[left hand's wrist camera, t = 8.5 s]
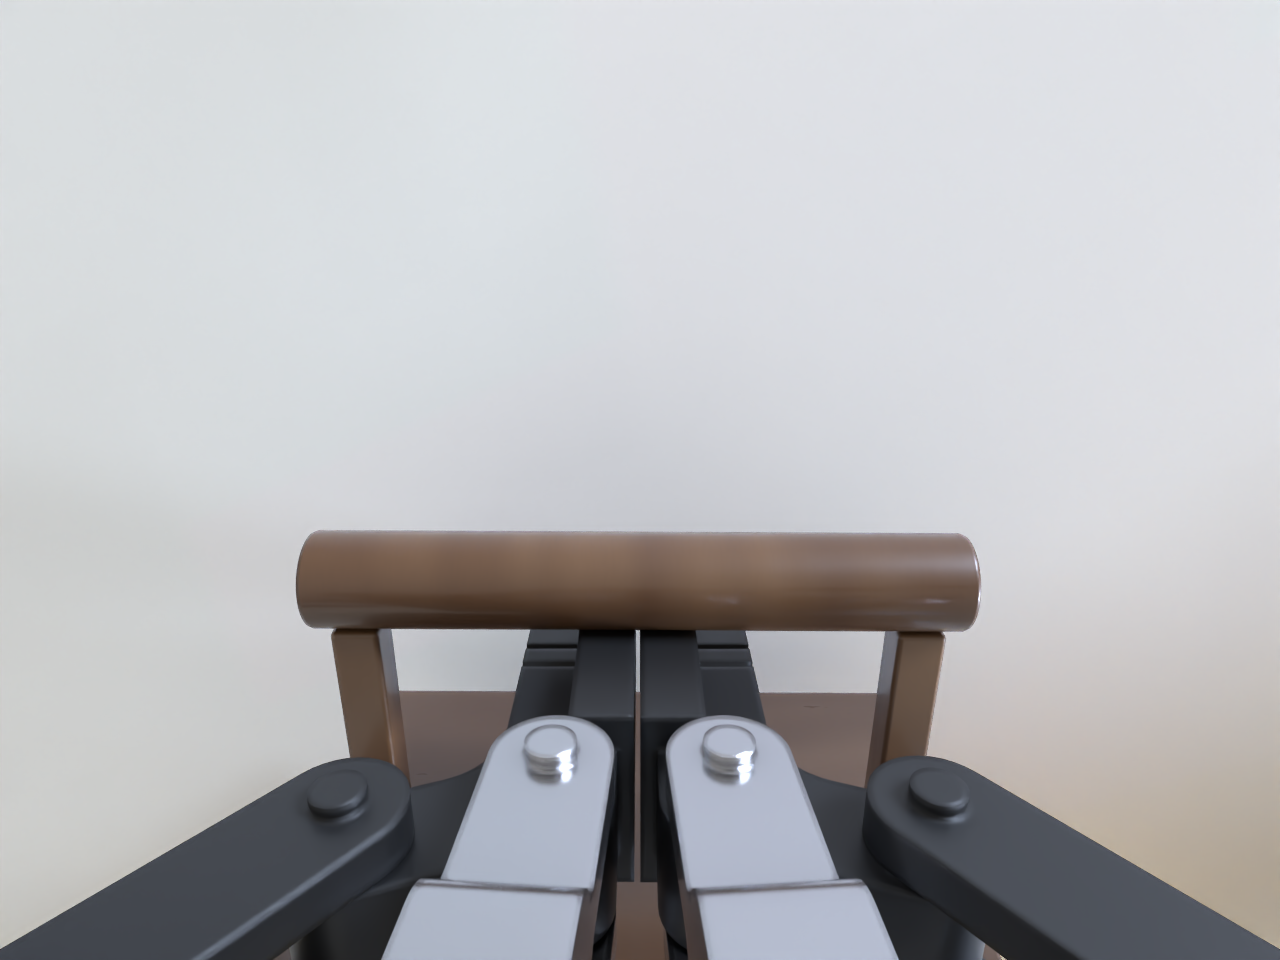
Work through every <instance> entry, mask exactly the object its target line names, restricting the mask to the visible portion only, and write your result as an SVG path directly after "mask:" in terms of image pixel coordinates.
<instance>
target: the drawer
mask: <svg viewBox="0 0 1280 960" xmlns="http://www.w3.org/2000/svg"><path fill="white" fill-rule="evenodd" d="M296 597H297V604H298V609H299V612H300V615H301V617H302V619H303V621H304V622H305V624H306V625H308V626H310V627H312V628H324V629H334V630H333V632H332V635H331V639H332V646H333V652H334V658H335V664H336V671H337V677H338V683H339V690H340V696H341V702H342V708H343V715H344V721H345V727H346V734H347V740H348V746H349V752H350V758H357V757H362V758H374V759H380V760H383V761H386V762H389V763H391V764H393V765H395V766H396V767H398V768H399V769H400V770H401V771H402V772H403V773H404V774H405V776H406V777H407V779H408V782H409V785H410V787H415V786H419V785H423V784H428V783H432V782H436V781H441V780H444V779H448V778H452V777H455V776H457V775H460V774H463V773H465V772H467V771H469V770H471V769H473V768H475V767H477V766H478V765H480V764H481V763H483V762H484V761H485V759H486V757H487V754H488V751H489V749H490V747H491V745H492V744H493V742H494V741H495V740H496V739H497V737H498V736H500V735H501V734H502V733H503V732H504V731H506V730H507V727H508V723H509V718H510V714H511V710H512V706H513V702H514V697H515V693H516V691H399V687H398V679H397V671H396V663H395V655H394V647H393V639H392V632H391V629H524V630H723V631H885V638H884V645H883V653H882V660H881V667H880V675H879V682H878V690H877V693H759V694H760V699H761V703H762V707H763V712H764V716H765V721H766V725H767V726H768V727H770V728H771V729H773V730H774V731H776V732H777V733H778V734H779V735H780V736H782V737H783V739H784V740H785V741H786V742H787V744H788V746H789V747H790V749H791V752H792V754H793V757H794V760H795V762H796V765H797V767H799V768H801V769H802V770H804V771H806V772H808V773H811V774H813V775H816V776H818V777H821V778H825V779H828V780H832V781H836V782H841V783H845V784H849V785H854V786H858V787H862V788H867V783H868V780H869V777H870V775H871V774H872V773H873V771H874V770H875V769H876V768H877V767H878V766H880V765H881V764H883V763H885V762H887V761H888V760H892V759H895V758H898V757H904V756H926V754H927V748H928V742H929V736H930V730H931V724H932V719H933V713H934V707H935V701H936V695H937V689H938V683H939V677H940V671H941V665H942V659H943V653H944V647H945V641H946V638H945V635H944V634H943V632H963V631H965V630H967V629H969V628H971V626H972V625H973V624H974V622H975V620H976V617H977V614H978V611H979V606H980V598H981V577H980V569H979V563H978V559H977V555H976V552H975V550H974V547H973V545H972V543H971V542H970V541H969V539H968V538H967V537H965V536H964V535H961V534H958V533H767V532H564V531H361V530H319V531H316V532H314V533H312V534H310V536H309V537H308V538H307V539H306V541H305V543H304V545H303V547H302V550H301V553H300V557H299V561H298V566H297V574H296ZM616 928H617V946H616V955H615V960H665V955H664V947H663V925H662V922H661V920H660V917H659V912H658V893H657V882H640V692H636V734H635V862H634V882H617V900H616ZM983 958H985V959H986V960H1002V959H1001V957H1000V954H998V953H997V952H996V951H994V950H993V949H992V948H990V947H989V946H988V945H986V944H985V947H984V953H983ZM273 960H291V955H290V950H289V948H288V949H287V950H286V951H284V952H283V953H281V954H280V955H279V956H277V957H276V958H275V959H273Z"/></svg>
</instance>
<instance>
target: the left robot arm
mask: <svg viewBox="0 0 1280 960" xmlns="http://www.w3.org/2000/svg"><path fill="white" fill-rule="evenodd" d="M635 734H636V630H530V634H529V638H528V643H527V649H526V651H525V655H524V659H523V667H522V668H521V672H520V676H519V680H518V685H517V689H516V693H515V697H514V702H513V706H512V710H511V714H510V718H509V723H508V727H507V730H506V731H504V732H503V733H502V734H501V735H500V736H498V737H497V739H496V740H495V741H494V742H493V744H492V745H491V747H490V749H489V751H488V754H487V757H486V759H485V761H484V762H483V763H481V764H480V765H478V766H477V767H475V768H473V769H471V770H469V771H467V772H465V773H463V774H460V775H457V776H455V777H452V778H448V779H444V780H441V781H436V782H432V783H428V784H423V785H419V786H415V787H410V785H409V782H408V779H407V777H406V776H405V774H404V773H403V772H402V771H401V770H400V769H399V768H398V767H396V766H395V765H393V764H391V763H389V762H386V761H383V760H380V759H374V758H362V757H357V758H346V759H340V760H335V761H332V762H328V763H325V764H322V765H319V766H317V767H314V768H312V769H310V770H308V771H306V772H304V773H302V774H300V775H299V776H297V777H295V778H293V779H292V780H290V781H288V782H287V783H285V784H283V785H281V786H280V787H278V788H276V789H275V790H273V791H271V792H269V793H268V794H266V795H264V796H262V797H261V798H259V799H257V800H256V801H254V802H252V803H250V804H249V805H247V806H245V807H244V808H242V809H240V810H238V811H237V812H235V813H233V814H232V815H230V816H228V817H226V818H225V819H223V820H221V821H220V822H218V823H216V824H214V825H213V826H211V827H209V828H208V829H206V830H204V831H202V832H201V833H199V834H197V835H196V836H194V837H192V838H190V839H189V840H187V841H185V842H184V843H182V844H180V845H178V846H177V847H175V848H173V849H172V850H170V851H168V852H166V853H165V854H163V855H161V856H160V857H158V858H156V859H154V860H153V861H151V862H149V863H148V864H146V865H144V866H142V867H141V868H139V869H137V870H135V871H134V872H132V873H130V874H129V875H127V876H125V877H123V878H122V879H120V880H118V881H117V882H115V883H113V884H111V885H110V886H108V887H106V888H105V889H103V890H101V891H99V892H98V893H96V894H94V895H93V896H91V897H89V898H87V899H86V900H84V901H82V902H81V903H79V904H77V905H75V906H74V907H72V908H70V909H69V910H67V911H65V912H63V913H62V914H60V915H58V916H57V917H55V918H53V919H51V920H50V921H48V922H46V923H45V924H43V925H41V926H39V927H38V928H36V929H34V930H33V931H31V932H29V933H27V934H26V935H24V936H22V937H21V938H19V939H17V940H15V941H14V942H12V943H10V944H9V945H7V946H5V947H3V948H2V949H0V960H273V959H275V958H276V957H277V956H279V955H280V954H281V953H283V952H284V951H286V950H287V949H288V948H289V950H290V955H291V960H615V955H616V946H617V928H616V900H617V882H634V862H635ZM640 882H657V893H658V912H659V917H660V920H661V922H662V925H663V947H664V955H665V960H986V959H985V958H983V953H984V947H985V944H986V945H988V946H989V947H990V948H992V949H993V950H994V951H996V952H997V953H998V954H1000V955H1001V956H1003V957H1004V958H1005V959H1007V960H1280V949H1278V948H1277V947H1275V946H1273V945H1271V944H1270V943H1268V942H1266V941H1265V940H1263V939H1261V938H1259V937H1258V936H1256V935H1254V934H1253V933H1251V932H1249V931H1247V930H1246V929H1244V928H1242V927H1241V926H1239V925H1237V924H1235V923H1234V922H1232V921H1230V920H1229V919H1227V918H1225V917H1223V916H1222V915H1220V914H1218V913H1217V912H1215V911H1213V910H1211V909H1210V908H1208V907H1206V906H1205V905H1203V904H1201V903H1199V902H1198V901H1196V900H1194V899H1193V898H1191V897H1189V896H1187V895H1186V894H1184V893H1182V892H1181V891H1179V890H1177V889H1175V888H1174V887H1172V886H1170V885H1168V884H1167V883H1165V882H1163V881H1162V880H1160V879H1158V878H1156V877H1155V876H1153V875H1151V874H1150V873H1148V872H1146V871H1144V870H1143V869H1141V868H1139V867H1138V866H1136V865H1134V864H1132V863H1131V862H1129V861H1127V860H1126V859H1124V858H1122V857H1120V856H1119V855H1117V854H1115V853H1114V852H1112V851H1110V850H1108V849H1107V848H1105V847H1103V846H1102V845H1100V844H1098V843H1096V842H1095V841H1093V840H1091V839H1090V838H1088V837H1086V836H1084V835H1083V834H1081V833H1079V832H1078V831H1076V830H1074V829H1072V828H1071V827H1069V826H1067V825H1066V824H1064V823H1062V822H1060V821H1059V820H1057V819H1055V818H1054V817H1052V816H1050V815H1048V814H1047V813H1045V812H1043V811H1042V810H1040V809H1038V808H1036V807H1035V806H1033V805H1031V804H1029V803H1028V802H1026V801H1024V800H1023V799H1021V798H1019V797H1017V796H1016V795H1014V794H1012V793H1011V792H1009V791H1007V790H1005V789H1004V788H1002V787H1000V786H999V785H997V784H995V783H993V782H992V781H990V780H988V779H987V778H985V777H983V776H981V775H980V774H978V773H976V772H974V771H973V770H971V769H969V768H967V767H965V766H962V765H960V764H957V763H955V762H952V761H948V760H945V759H941V758H936V757H930V756H904V757H898V758H895V759H892V760H888V761H887V762H885V763H883V764H881V765H880V766H878V767H877V768H876V769H875V770H874V771H873V773H872V774H871V775H870V777H869V780H868V783H867V788H862V787H858V786H854V785H849V784H845V783H841V782H836V781H832V780H828V779H825V778H821V777H818V776H816V775H813V774H811V773H808V772H806V771H804V770H802V769H801V768H799V767H797V765H796V762H795V760H794V757H793V754H792V752H791V749H790V747H789V746H788V744H787V742H786V741H785V740H784V739H783V737H782V736H780V735H779V734H778V733H777V732H776V731H774V730H773V729H771V728H770V727H768V726H767V725H766V721H765V716H764V712H763V707H762V703H761V699H760V694H759V690H758V685H757V681H756V677H755V672H754V668H753V667H752V659H751V655H750V650H749V649H748V641H747V637H746V633H745V631H723V630H640Z"/></svg>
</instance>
